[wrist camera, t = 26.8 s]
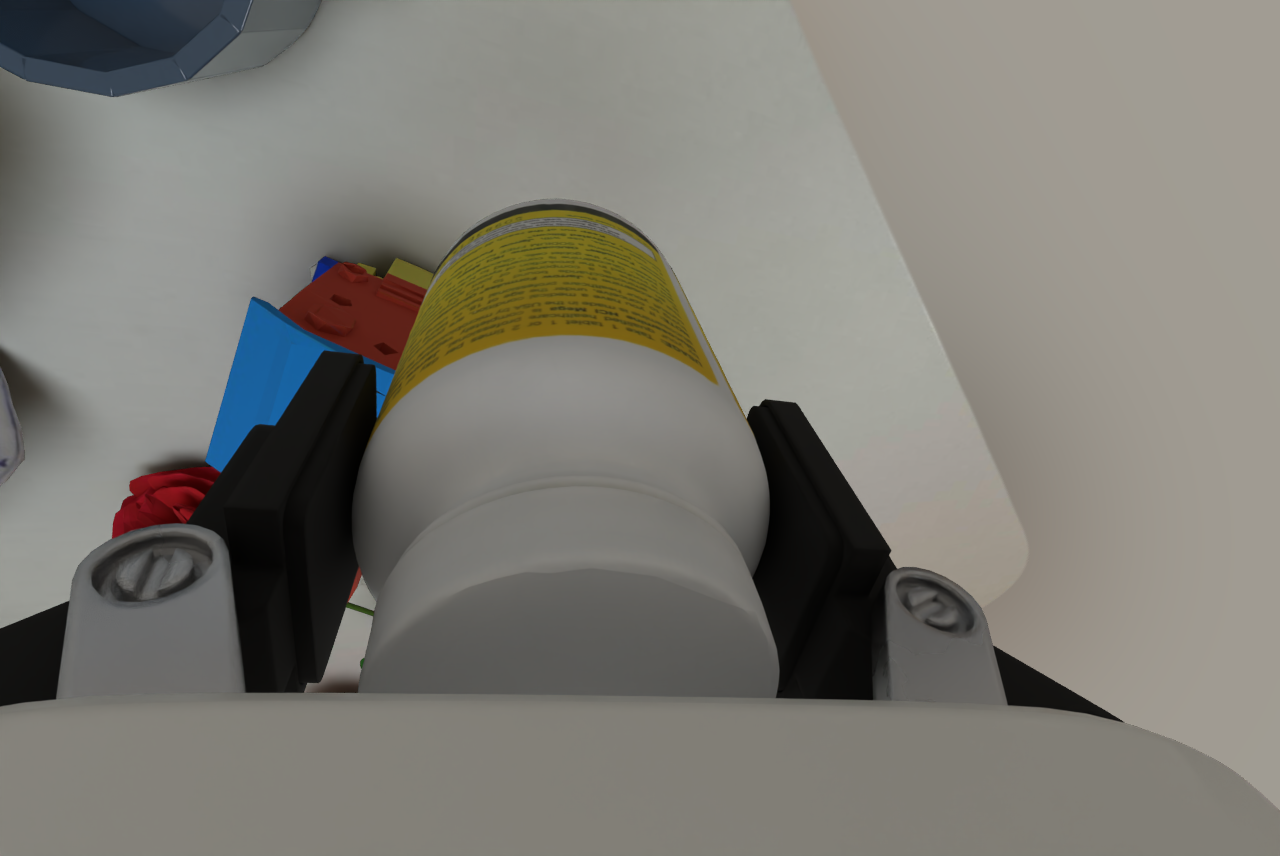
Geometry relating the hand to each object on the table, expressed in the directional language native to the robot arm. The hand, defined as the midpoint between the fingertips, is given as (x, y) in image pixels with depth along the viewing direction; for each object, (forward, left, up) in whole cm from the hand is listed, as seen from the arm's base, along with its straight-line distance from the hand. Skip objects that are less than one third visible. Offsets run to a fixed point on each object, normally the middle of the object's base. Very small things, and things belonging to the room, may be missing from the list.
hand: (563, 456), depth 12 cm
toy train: (+13, -8, -28) cm, 32 cm away
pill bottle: (0, 0, -6) cm, 6 cm away
